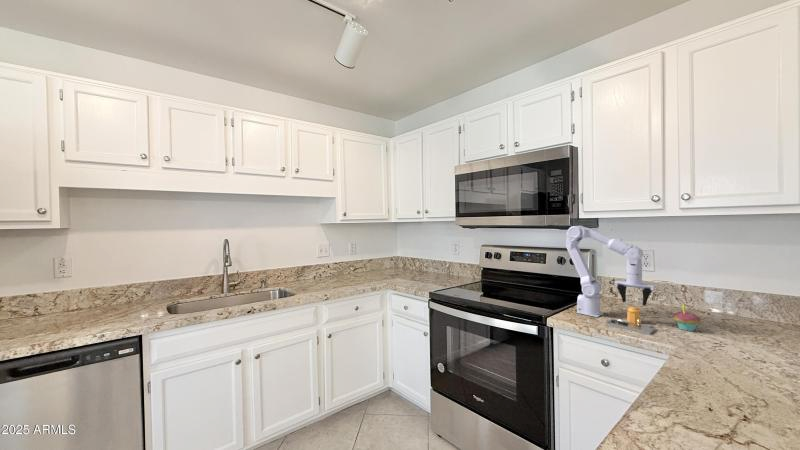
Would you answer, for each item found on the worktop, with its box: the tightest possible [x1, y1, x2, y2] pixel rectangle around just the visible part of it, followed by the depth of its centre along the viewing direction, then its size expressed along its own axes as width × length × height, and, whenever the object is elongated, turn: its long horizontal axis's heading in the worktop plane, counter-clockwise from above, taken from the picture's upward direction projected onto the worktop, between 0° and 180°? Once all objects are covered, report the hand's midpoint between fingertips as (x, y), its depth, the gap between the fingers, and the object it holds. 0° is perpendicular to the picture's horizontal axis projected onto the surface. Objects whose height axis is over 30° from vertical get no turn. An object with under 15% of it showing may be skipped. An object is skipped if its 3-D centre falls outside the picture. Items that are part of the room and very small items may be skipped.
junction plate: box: [605, 317, 657, 335], centre depth 138 cm, size 16×9×4 cm, turn 39°
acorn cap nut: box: [626, 306, 642, 323], centre depth 144 cm, size 5×5×7 cm
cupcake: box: [672, 302, 701, 332], centre depth 134 cm, size 9×8×12 cm
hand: (634, 303), depth 144 cm, fingers open, 7 cm apart
